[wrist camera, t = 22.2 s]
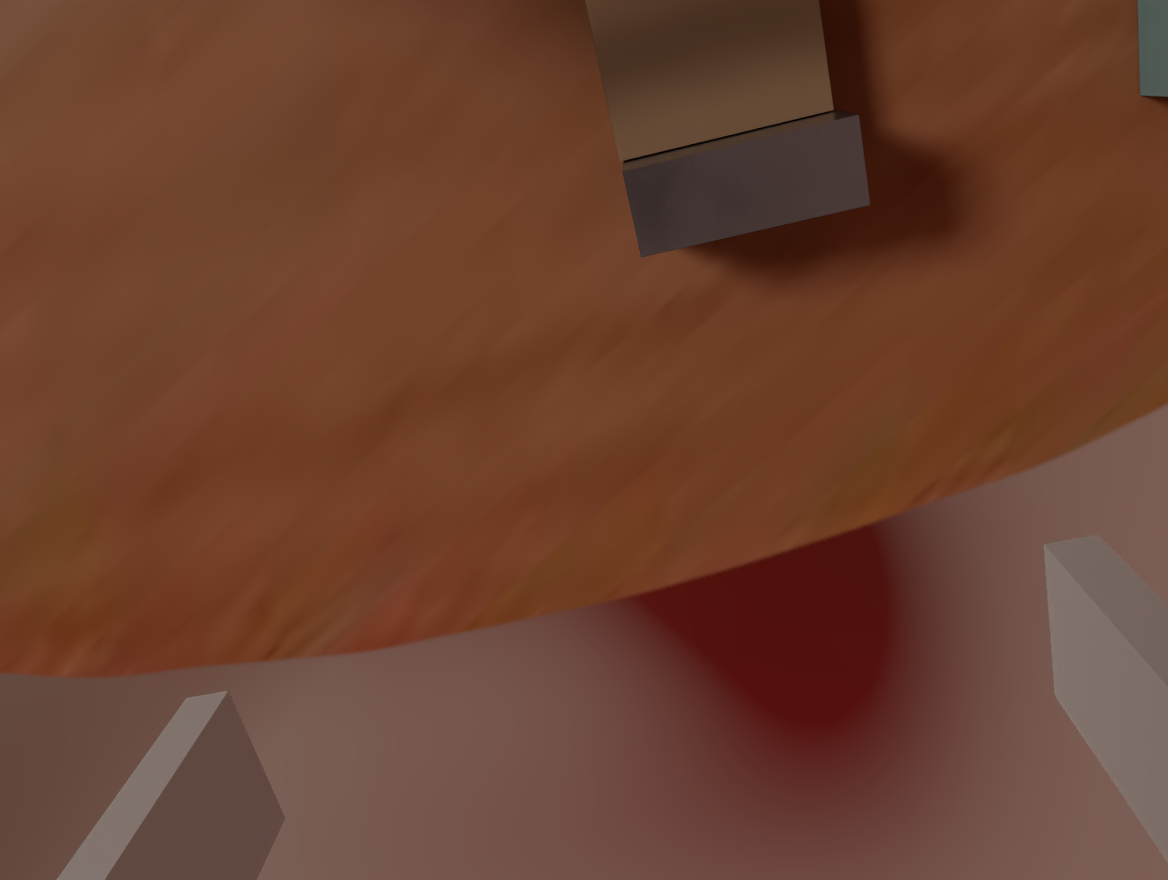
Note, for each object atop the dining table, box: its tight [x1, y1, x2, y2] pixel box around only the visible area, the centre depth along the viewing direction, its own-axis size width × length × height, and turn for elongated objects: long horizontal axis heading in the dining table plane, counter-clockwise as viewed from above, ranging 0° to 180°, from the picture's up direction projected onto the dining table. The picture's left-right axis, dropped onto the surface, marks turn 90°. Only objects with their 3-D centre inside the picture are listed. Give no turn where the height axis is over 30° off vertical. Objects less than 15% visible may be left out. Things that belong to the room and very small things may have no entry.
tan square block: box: [585, 0, 834, 161], centre depth 35 cm, size 8×8×3 cm
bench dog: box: [623, 110, 870, 257], centre depth 35 cm, size 3×8×6 cm, turn 104°
